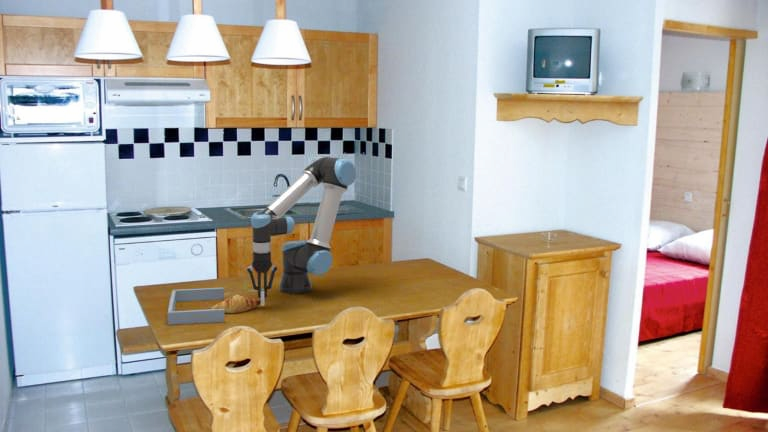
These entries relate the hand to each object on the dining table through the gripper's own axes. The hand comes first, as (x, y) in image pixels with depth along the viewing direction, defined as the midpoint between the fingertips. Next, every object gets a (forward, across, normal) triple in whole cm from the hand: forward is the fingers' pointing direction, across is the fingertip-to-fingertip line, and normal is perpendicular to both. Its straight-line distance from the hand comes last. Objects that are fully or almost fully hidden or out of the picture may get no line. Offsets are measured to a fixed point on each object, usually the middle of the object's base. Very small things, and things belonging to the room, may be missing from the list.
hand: (262, 304), depth 302 cm
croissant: (+2, +11, +1) cm, 11 cm away
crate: (+2, +27, -1) cm, 27 cm away
